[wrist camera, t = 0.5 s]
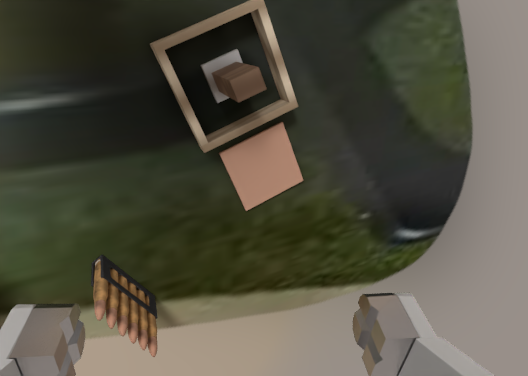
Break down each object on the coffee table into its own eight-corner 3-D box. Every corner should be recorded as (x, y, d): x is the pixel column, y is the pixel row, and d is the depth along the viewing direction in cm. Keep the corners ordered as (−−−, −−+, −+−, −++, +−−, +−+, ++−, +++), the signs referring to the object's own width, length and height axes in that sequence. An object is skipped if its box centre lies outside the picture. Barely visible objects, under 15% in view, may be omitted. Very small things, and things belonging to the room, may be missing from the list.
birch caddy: (149, 43, 45) (151, 44, 42) (254, -2, 47) (262, -4, 44) (199, 146, 51) (204, 153, 49) (289, 102, 53) (298, 106, 51)
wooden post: (200, 65, 47) (218, 72, 39) (235, 49, 48) (260, 52, 40) (216, 101, 50) (236, 115, 42) (249, 86, 51) (276, 96, 42)
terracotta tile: (218, 152, 52) (219, 153, 52) (281, 121, 54) (282, 122, 54) (245, 209, 57) (246, 211, 57) (302, 179, 59) (303, 180, 58)
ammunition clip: (155, 296, 57) (165, 355, 47) (145, 304, 57) (153, 365, 47) (102, 254, 52) (99, 310, 41) (91, 262, 52) (86, 321, 41)
